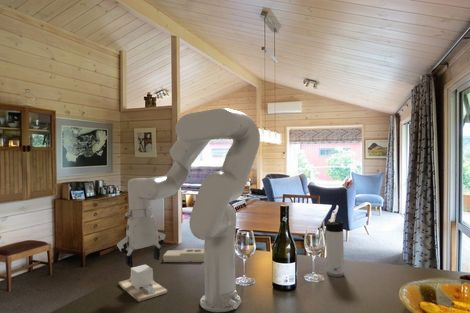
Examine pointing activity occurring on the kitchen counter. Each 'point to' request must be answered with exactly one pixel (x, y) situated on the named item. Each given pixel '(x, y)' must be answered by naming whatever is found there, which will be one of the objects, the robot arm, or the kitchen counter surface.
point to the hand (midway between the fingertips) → (143, 262)
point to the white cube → (141, 276)
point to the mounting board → (141, 294)
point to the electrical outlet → (184, 255)
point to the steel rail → (147, 288)
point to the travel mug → (334, 249)
